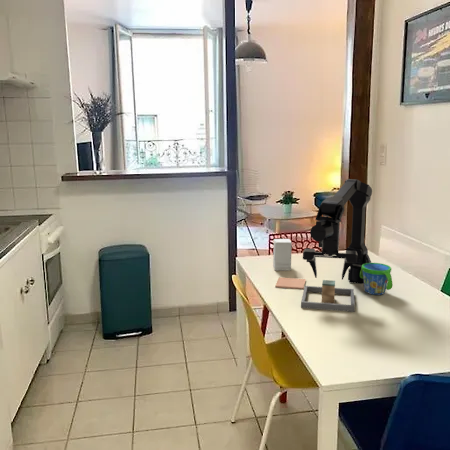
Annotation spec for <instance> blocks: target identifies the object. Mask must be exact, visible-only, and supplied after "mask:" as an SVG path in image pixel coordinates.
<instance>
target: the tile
mask: <svg viewBox="0 0 450 450" xmlns="http://www.w3.org/2000/svg"><path fill="white" fill-rule="evenodd" d="M306 282H307V279H306V278H293V277H281V276H280V277H278V279H277V281H276V283H275V288H281V289H295V290H304V287H305V286H306V285H305V284H306Z"/></svg>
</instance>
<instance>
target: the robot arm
mask: <svg viewBox="0 0 450 450" xmlns="http://www.w3.org/2000/svg"><path fill="white" fill-rule="evenodd" d="M372 194H373V189H372V187H371V186H370V185H369V184H368V183H365V182H362V181H361V180H359V179H354V178H353V179H351V178H347V179H345V181H344V184H343V185H342V186H341V187H340V188H339V189H338V190H337V191H336V193H334V194H333V195H332V196H330V197H327V198H325V199H323V200H322V202H321V203H320V205H319V208H318V210H317V214H316V217H315V221H316V222H315V225H313V226H312V227H311V228H310V232H309V233H310V237H311V239H312V240H314V241H315V242H318V248H321V251H316V249H315V248H304V249H303V252H302V260H304V261H306V263H309V265H310V267H311V269H312V273H313V275H314V278H316V279H317V276H318V272H317V270H318V269H317V261H316V259H317V258H326V259H327V258H329V259H343V260H344V261H343V267H342V273H341V280H344V278H345V275H346V273H347V270H348V273H347V275H348V276H347V280H348V283H350V284H351V283H352V284H363V285H364V279H363V278H360V271H361V267H362V265H363V264H365V263H372V261H371V258H370V256H369V254H368V253H369V252H368V250H369V249H368V247H367V246H366V244H365V227H366V225H365V224H366V208H367V205H368V204H369V202H370V201H371V196H372ZM347 202H349V203H350V204H351V206H352V223H351V241H350V244H349V245H348V247H346V249H345V252H339V246H340V223H341V222H342V217H343V214H344V212H345V205H346V204H347Z"/></svg>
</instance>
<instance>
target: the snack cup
mask: <svg viewBox="0 0 450 450" xmlns="http://www.w3.org/2000/svg"><path fill="white" fill-rule="evenodd" d="M391 273H392V267H391V266H390V265H387V264H386V263H385V264H384V263H379V262H371V263H365V264H363V265H362V267H361V271H360V278H363V279H364V284H363V288H364V291H365V292H366V293H367V294H370V295H372V296H373V295H375V296H379V295H380V296H381V295H383V294H385V293H386V291H389V290H391V289H393V278H392V274H391Z"/></svg>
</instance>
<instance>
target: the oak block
mask: <svg viewBox="0 0 450 450" xmlns="http://www.w3.org/2000/svg"><path fill="white" fill-rule="evenodd" d="M321 287H322V293H321V303H323V302H324V303H332V304H335V295H336V294H335V288H336V280H330V279H329V280H328V279H326V280H325V279H322V285H321Z"/></svg>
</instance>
